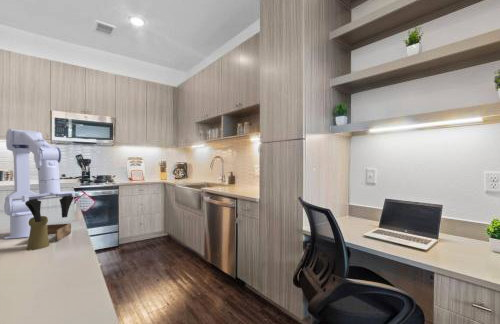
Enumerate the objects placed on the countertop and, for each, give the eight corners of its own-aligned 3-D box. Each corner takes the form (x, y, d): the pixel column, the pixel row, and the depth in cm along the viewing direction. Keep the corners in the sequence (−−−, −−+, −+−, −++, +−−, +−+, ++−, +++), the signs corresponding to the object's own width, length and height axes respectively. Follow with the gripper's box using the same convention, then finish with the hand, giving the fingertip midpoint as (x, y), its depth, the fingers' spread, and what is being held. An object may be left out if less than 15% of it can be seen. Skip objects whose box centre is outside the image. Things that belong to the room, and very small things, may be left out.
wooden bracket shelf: (46, 235, 98) (46, 224, 98) (71, 233, 100) (71, 223, 100) (29, 244, 87) (29, 232, 87) (57, 241, 89) (57, 230, 89)
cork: (36, 250, 81) (35, 218, 81) (22, 249, 82) (22, 218, 82) (53, 244, 87) (53, 215, 87) (40, 243, 88) (40, 214, 88)
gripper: (27, 180, 74) (30, 223, 73) (78, 178, 87) (81, 214, 86) (18, 183, 77) (20, 224, 76) (68, 180, 90) (71, 215, 89)
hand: (52, 219), depth 81 cm, fingers open, 7 cm apart
